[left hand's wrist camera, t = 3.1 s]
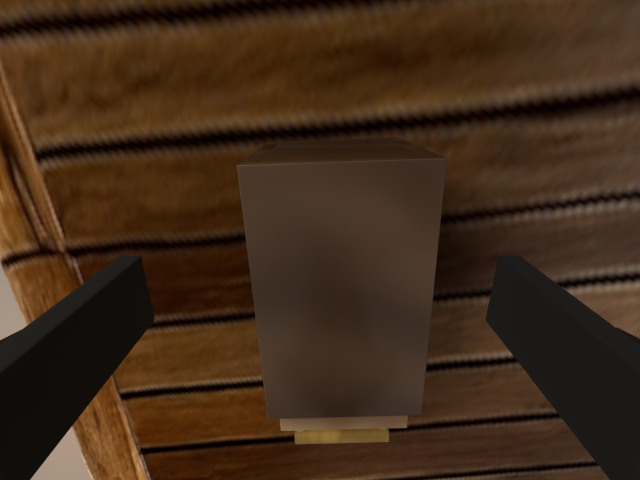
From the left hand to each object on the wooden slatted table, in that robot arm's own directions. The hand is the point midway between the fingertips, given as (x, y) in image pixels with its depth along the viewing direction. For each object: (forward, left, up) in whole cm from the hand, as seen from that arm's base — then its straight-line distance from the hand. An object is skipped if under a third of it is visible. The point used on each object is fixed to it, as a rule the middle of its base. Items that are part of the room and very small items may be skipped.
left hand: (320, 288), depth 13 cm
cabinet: (-1, +5, -17) cm, 17 cm away
